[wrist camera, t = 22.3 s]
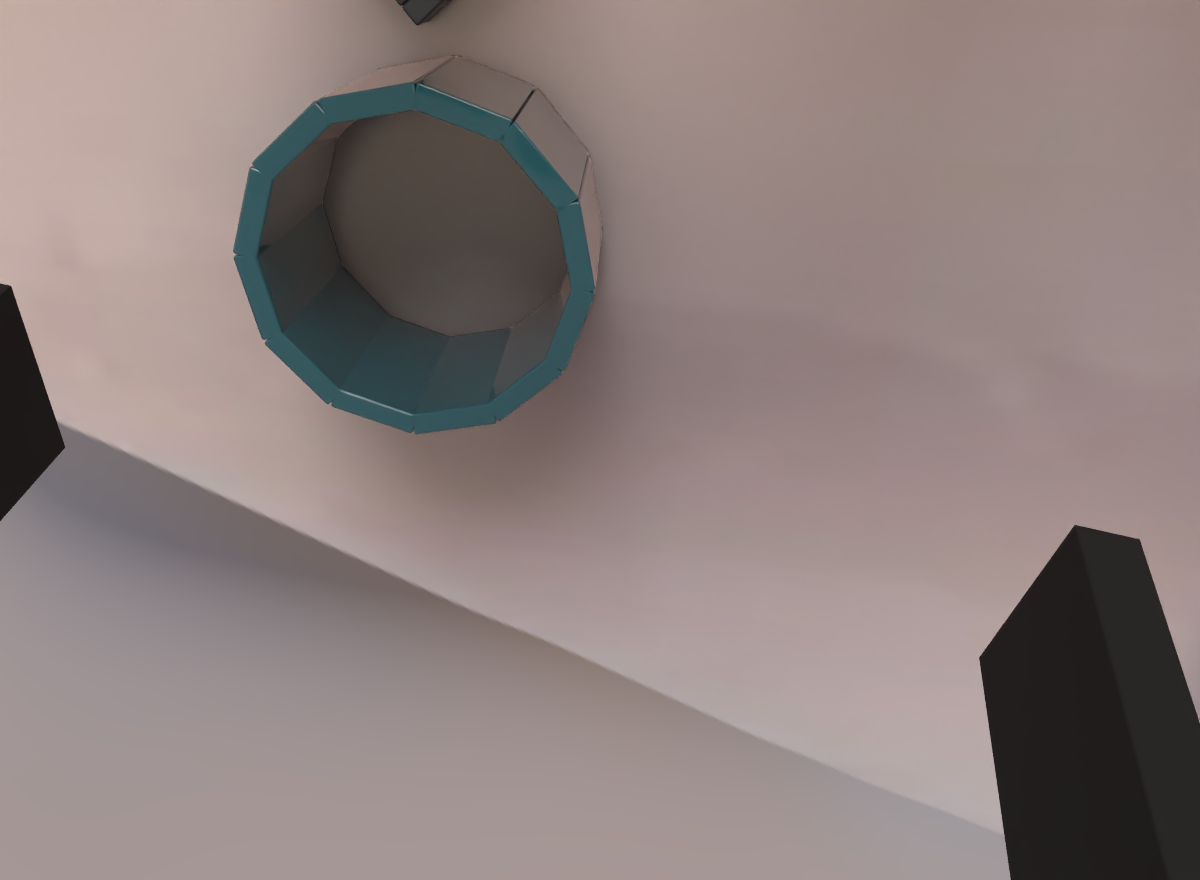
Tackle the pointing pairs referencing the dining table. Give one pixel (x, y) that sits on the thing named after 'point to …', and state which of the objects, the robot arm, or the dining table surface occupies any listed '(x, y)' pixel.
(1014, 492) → the dining table surface
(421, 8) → the tray
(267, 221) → the crock
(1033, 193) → the dining table surface
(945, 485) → the dining table surface
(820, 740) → the dining table surface
